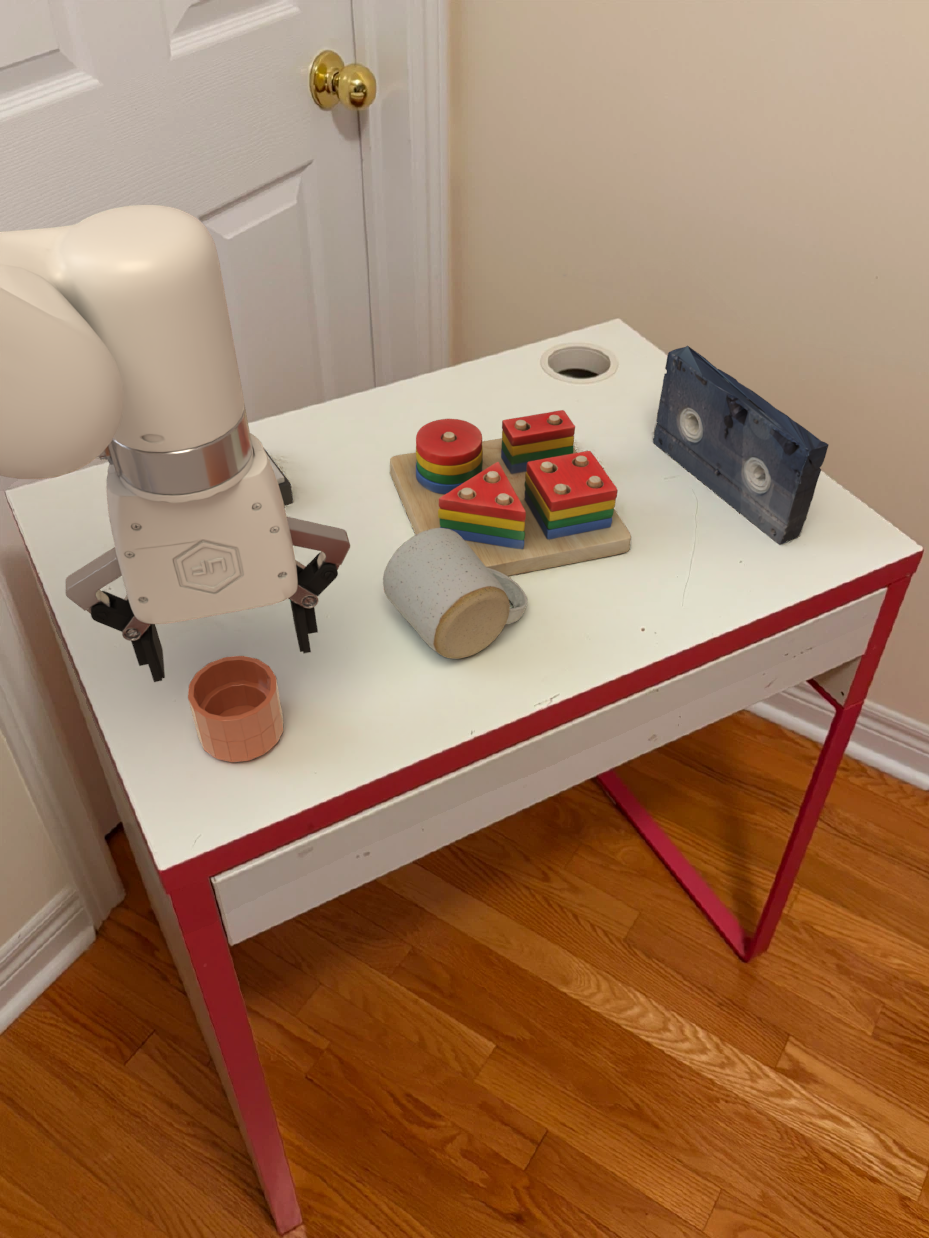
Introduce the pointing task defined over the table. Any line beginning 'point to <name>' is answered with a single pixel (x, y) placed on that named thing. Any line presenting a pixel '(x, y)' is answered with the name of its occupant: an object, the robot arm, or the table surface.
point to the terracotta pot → (236, 708)
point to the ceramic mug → (450, 593)
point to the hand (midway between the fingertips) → (231, 652)
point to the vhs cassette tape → (738, 444)
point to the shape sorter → (512, 492)
